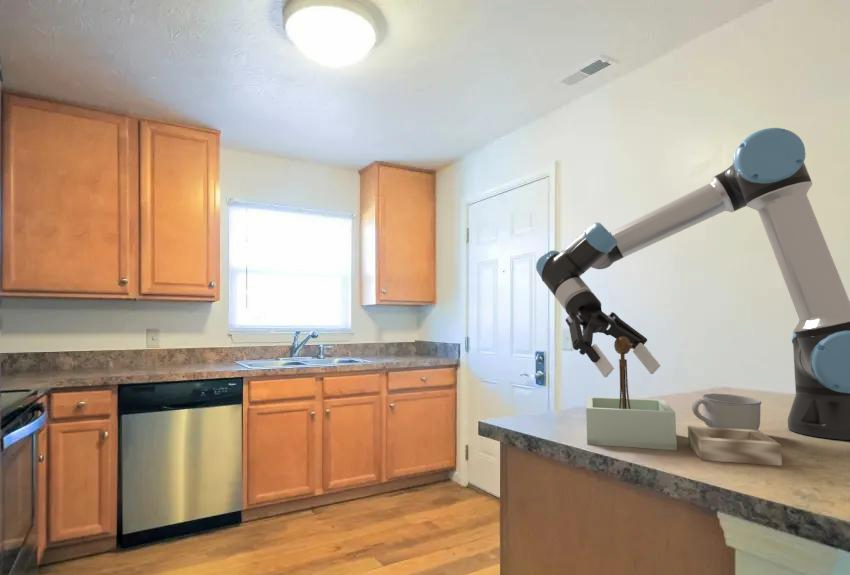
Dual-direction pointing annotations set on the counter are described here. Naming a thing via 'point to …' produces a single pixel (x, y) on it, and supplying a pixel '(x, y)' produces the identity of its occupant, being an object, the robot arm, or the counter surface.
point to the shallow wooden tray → (734, 445)
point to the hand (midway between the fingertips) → (633, 371)
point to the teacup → (729, 411)
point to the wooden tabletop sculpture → (623, 368)
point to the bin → (631, 423)
